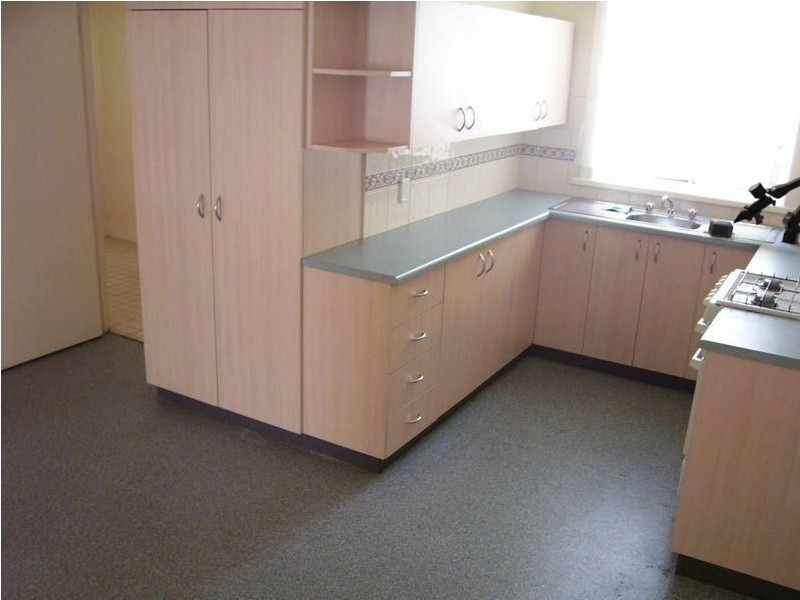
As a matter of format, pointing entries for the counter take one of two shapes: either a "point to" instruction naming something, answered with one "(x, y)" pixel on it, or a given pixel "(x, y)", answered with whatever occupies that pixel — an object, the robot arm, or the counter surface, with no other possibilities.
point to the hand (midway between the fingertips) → (733, 222)
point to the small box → (720, 228)
